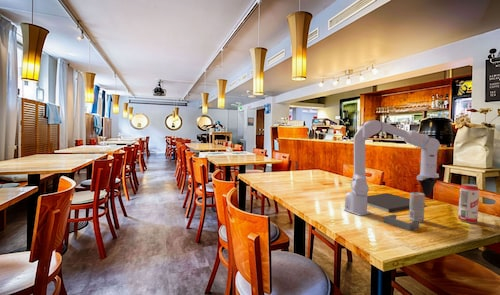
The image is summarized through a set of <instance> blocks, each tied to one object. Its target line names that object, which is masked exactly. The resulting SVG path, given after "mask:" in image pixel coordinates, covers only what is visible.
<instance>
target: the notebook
mask: <svg viewBox="0 0 500 295" xmlns="http://www.w3.org/2000/svg"><path fill="white" fill-rule="evenodd" d="M409 205H410V197H409V198H408V197H404V196H400V195H397V194H392V193H387V192H386V193H380V194H372V195H367V207H371V208H375V209H377V210H381V211H383V212H388V213H392V212H399V211H402V210H403V211H404V210H409ZM425 205H426V204H425ZM425 205H424V207H425Z"/></svg>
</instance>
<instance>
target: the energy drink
mask: <svg viewBox="0 0 500 295" xmlns="http://www.w3.org/2000/svg"><path fill="white" fill-rule="evenodd" d="M409 199H410V205H409V209H408V220H409V221H410V222H414V221H418V222H419V224H420V223H424V222H425V206H424V205H426V202H425V200H426V195H424V193H423V192H419V191H418V192H417V191H412V192H411V191H410V193H409Z"/></svg>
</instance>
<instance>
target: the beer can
mask: <svg viewBox="0 0 500 295" xmlns="http://www.w3.org/2000/svg"><path fill="white" fill-rule="evenodd" d="M479 200H480V189H479V187H478V184H472V183H462V184H461V186H460V188H459V198H458V201H459V202H458V217H457V218H458V219H459V220H460V222H462V223H467V224H475V223H477V222H478V218H479V217H478V216H479V215H478V214H479Z"/></svg>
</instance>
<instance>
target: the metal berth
mask: <svg viewBox="0 0 500 295" xmlns="http://www.w3.org/2000/svg"><path fill="white" fill-rule="evenodd" d="M383 223H385V224H389V225H390V226H394V227H397V228H400V229H403V230H405V231H407V232H410V231H414V230H417V229H419V228H420V223H419V222H418V221H414V222H413V221H410V222H406V221H402V220H400V219H397V214H394V213H393V214H390V215H385V216H384V217H383Z"/></svg>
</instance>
